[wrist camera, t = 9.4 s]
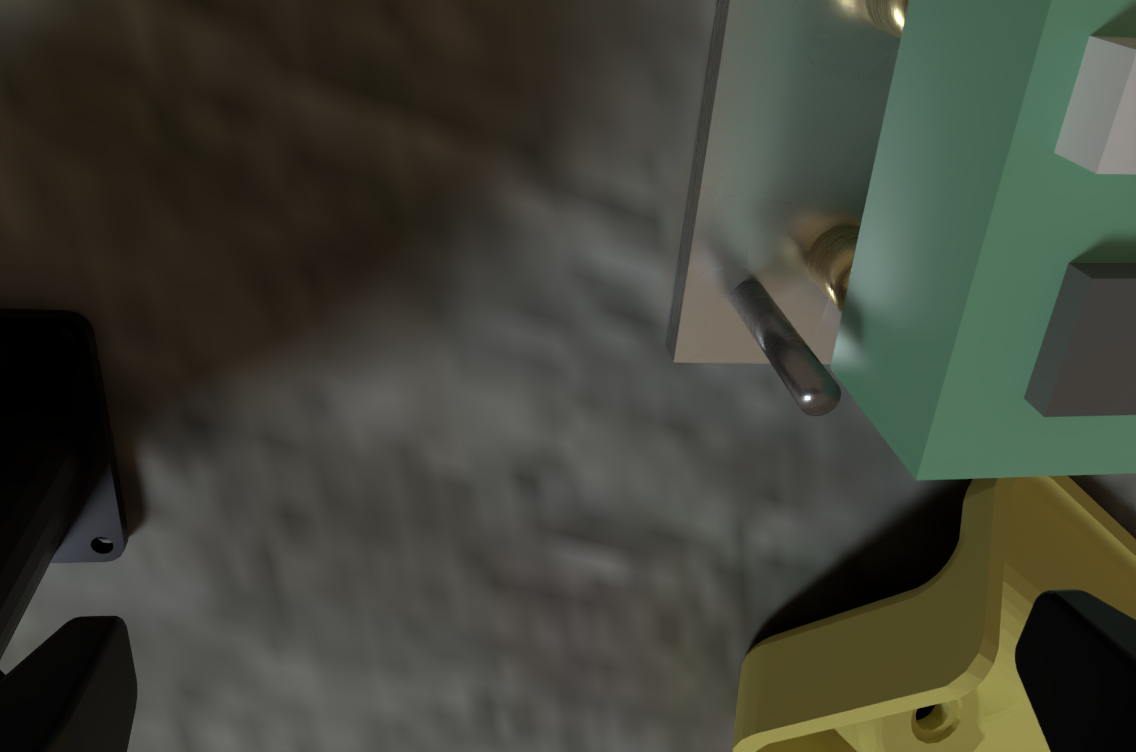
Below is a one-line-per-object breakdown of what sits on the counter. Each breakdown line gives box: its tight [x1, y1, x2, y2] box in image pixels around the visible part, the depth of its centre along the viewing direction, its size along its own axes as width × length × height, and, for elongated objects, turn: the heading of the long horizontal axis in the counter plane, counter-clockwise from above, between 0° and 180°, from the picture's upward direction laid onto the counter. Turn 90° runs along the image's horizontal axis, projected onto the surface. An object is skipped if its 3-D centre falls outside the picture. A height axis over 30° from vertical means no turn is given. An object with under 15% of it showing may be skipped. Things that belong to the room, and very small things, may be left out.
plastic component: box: [732, 475, 1136, 752], centre depth 29 cm, size 20×7×10 cm
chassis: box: [666, 0, 909, 416], centre depth 19 cm, size 11×10×5 cm
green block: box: [830, 0, 1136, 480], centre depth 16 cm, size 8×5×5 cm, turn 177°
